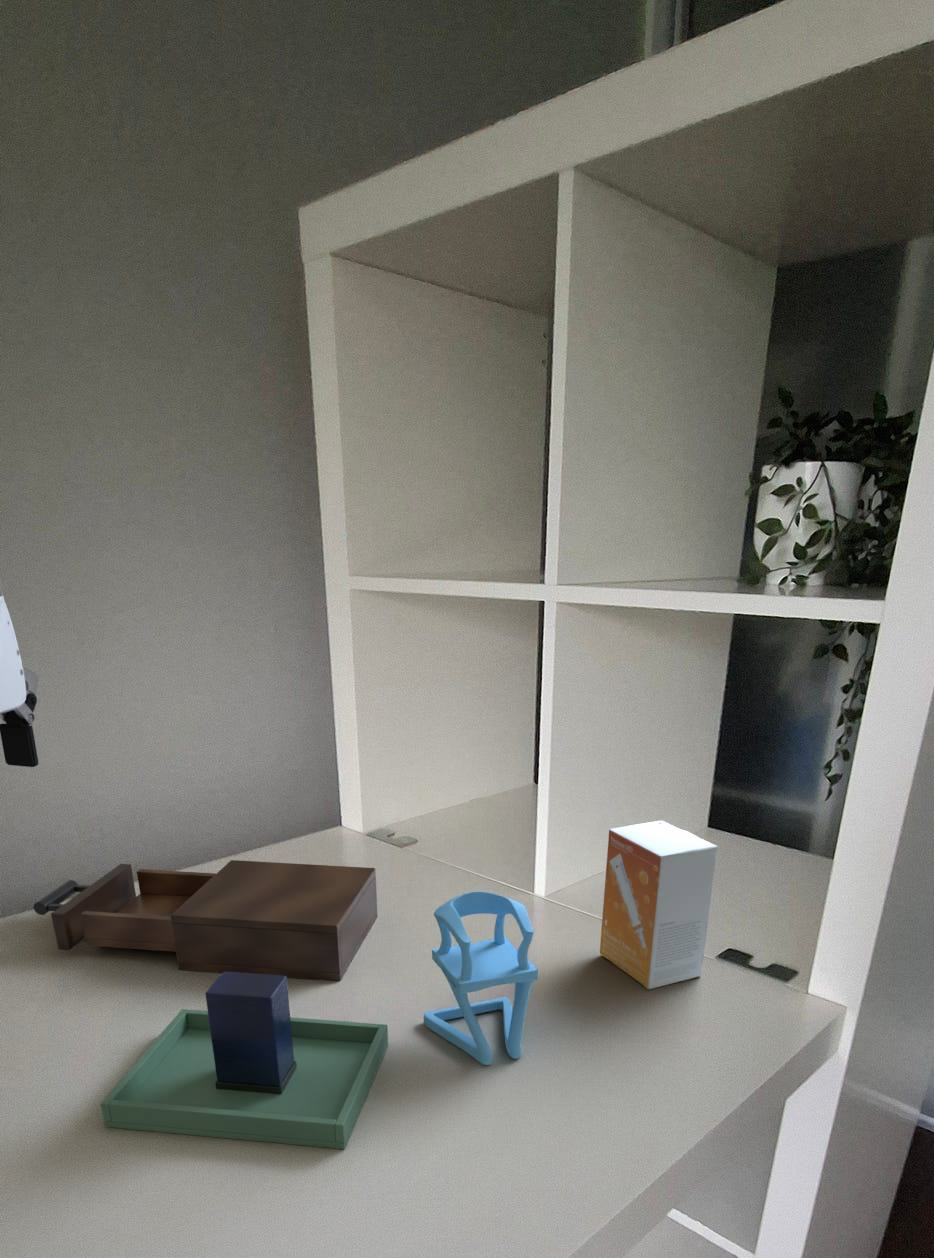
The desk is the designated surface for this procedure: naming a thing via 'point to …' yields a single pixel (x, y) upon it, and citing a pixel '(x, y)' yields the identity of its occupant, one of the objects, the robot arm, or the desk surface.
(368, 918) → the cabinet
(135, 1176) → the desk surface
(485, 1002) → the chair
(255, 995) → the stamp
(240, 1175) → the desk surface
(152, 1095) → the tray
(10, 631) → the robot arm
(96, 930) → the drawer
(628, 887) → the small box
